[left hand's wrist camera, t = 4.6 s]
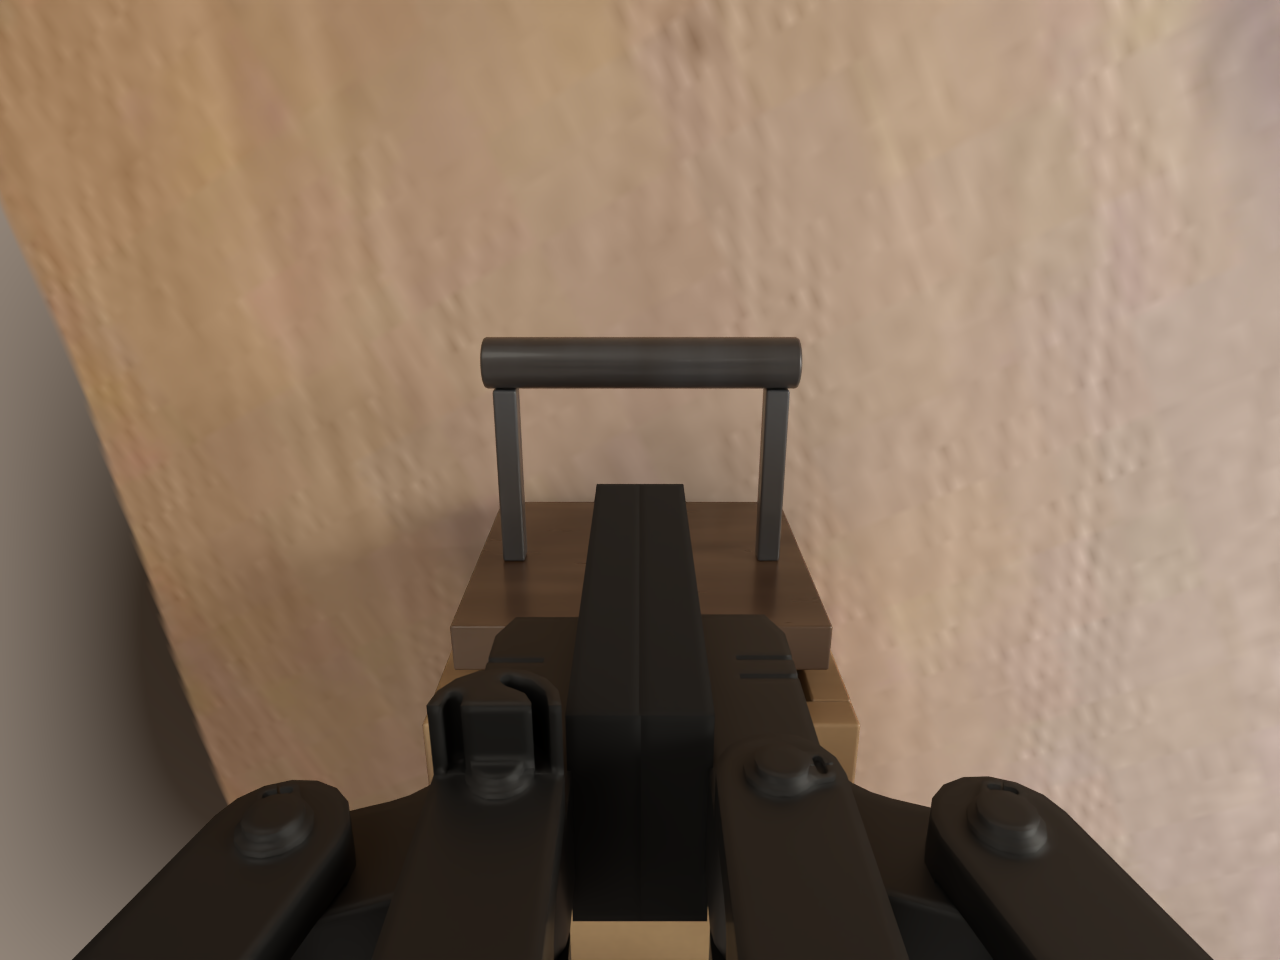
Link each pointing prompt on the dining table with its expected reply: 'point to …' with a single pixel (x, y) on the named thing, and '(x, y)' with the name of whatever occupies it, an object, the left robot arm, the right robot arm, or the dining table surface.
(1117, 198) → the dining table surface
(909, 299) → the dining table surface
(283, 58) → the dining table surface
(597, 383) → the drawer
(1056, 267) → the dining table surface
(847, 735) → the cabinet
